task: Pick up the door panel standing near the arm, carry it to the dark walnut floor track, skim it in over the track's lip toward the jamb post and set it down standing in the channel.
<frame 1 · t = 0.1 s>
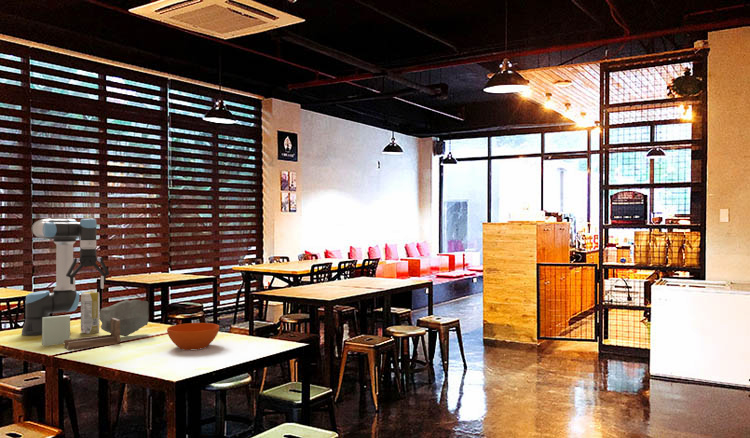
hand: (88, 289, 300), 28 cm above the table, fingers open, 13 cm apart
bowl: (193, 347, 293), on the table
rock: (124, 336, 319), on the table
juice carton: (90, 332, 330), on the table
track: (92, 345, 297), on the table
door panel: (56, 343, 300), on the table
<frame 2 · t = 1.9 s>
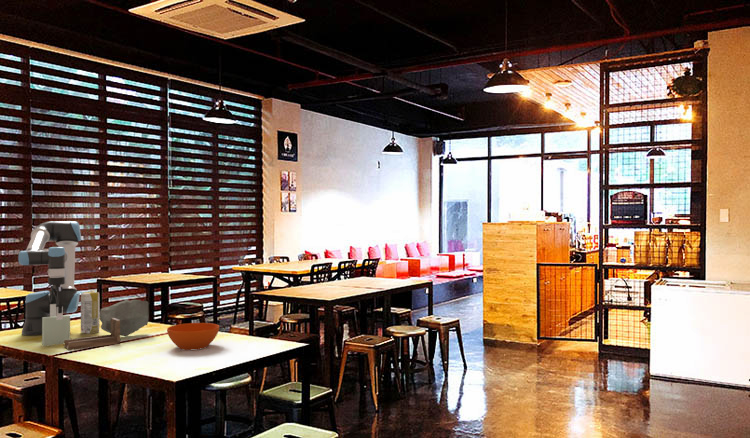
hand: (56, 318, 300), 13 cm above the table, fingers open, 13 cm apart
nothing on the table moved.
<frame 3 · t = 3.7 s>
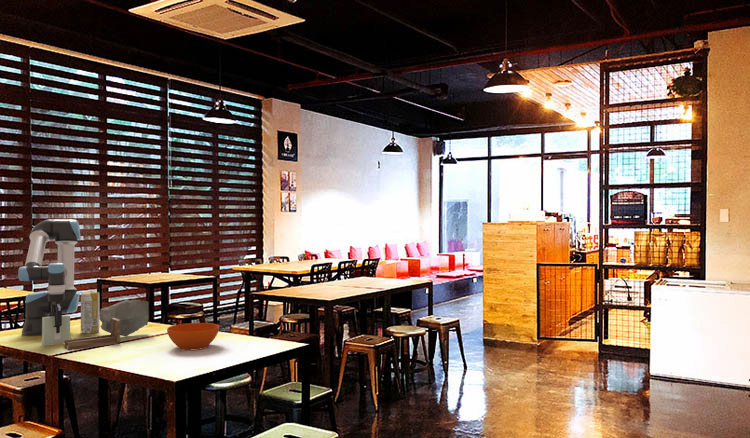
hand: (56, 338, 300), 3 cm above the table, fingers closed on door panel, 4 cm apart
door panel: (56, 343, 300), on the table, touching gripper
everything else where it was.
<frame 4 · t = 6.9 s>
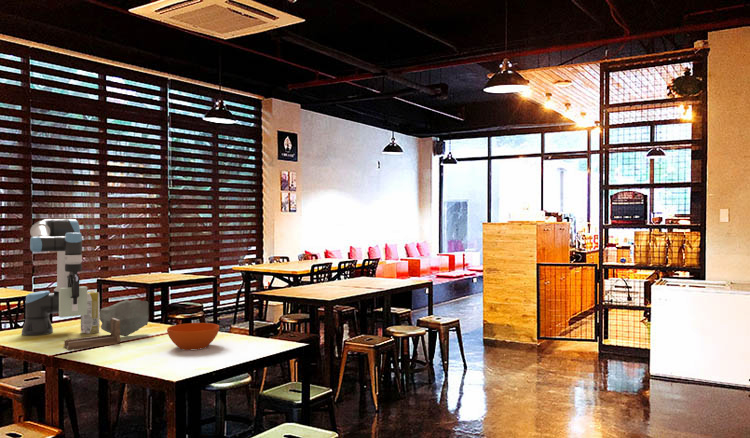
hand: (73, 310, 291), 19 cm above the table, fingers closed on door panel, 4 cm apart
door panel: (73, 315, 291), point 16 cm above the table, touching gripper
everything else where it was.
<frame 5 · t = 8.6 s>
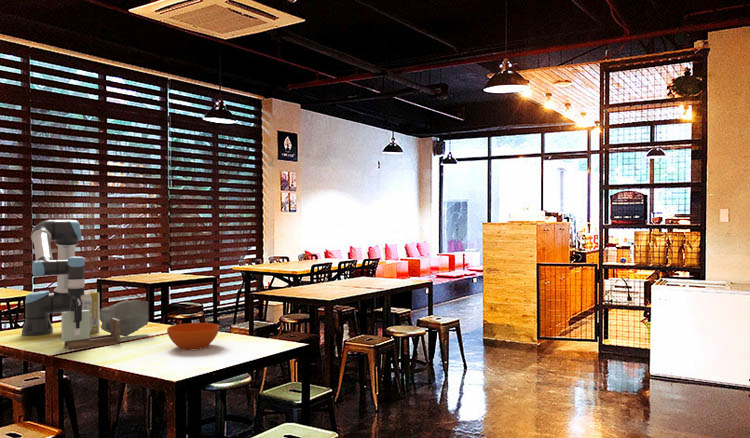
hand: (75, 334, 292), 7 cm above the table, fingers closed on door panel, 4 cm apart
door panel: (75, 339, 292), point 4 cm above the table, touching gripper
everything else where it was.
when the fingers open (5 cm above the table, at t = 10.2 s): door panel stays where it is, resting on track.
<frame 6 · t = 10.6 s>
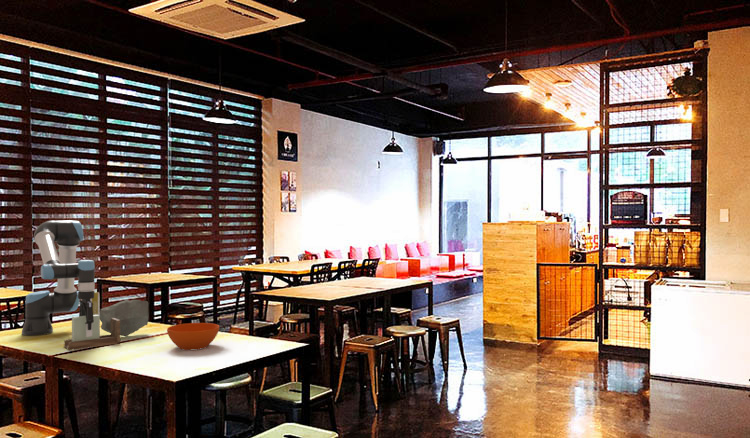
hand: (86, 334, 295), 6 cm above the table, fingers open, 9 cm apart
door panel: (85, 343, 295), point 1 cm above the table, touching track
everything else where it was.
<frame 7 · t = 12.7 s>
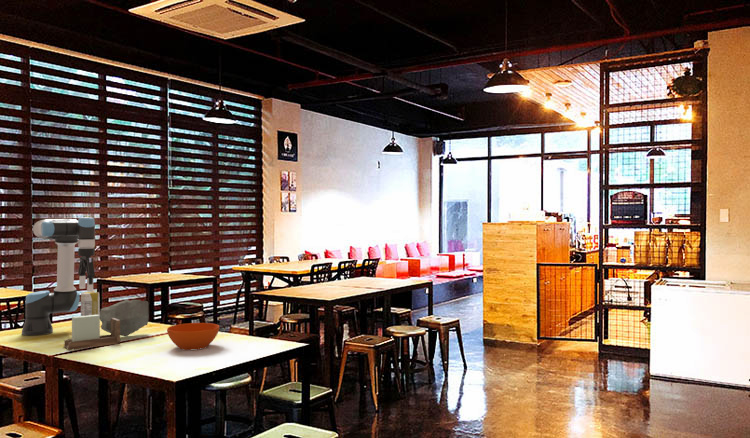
hand: (86, 289, 295), 28 cm above the table, fingers open, 13 cm apart
nothing on the table moved.
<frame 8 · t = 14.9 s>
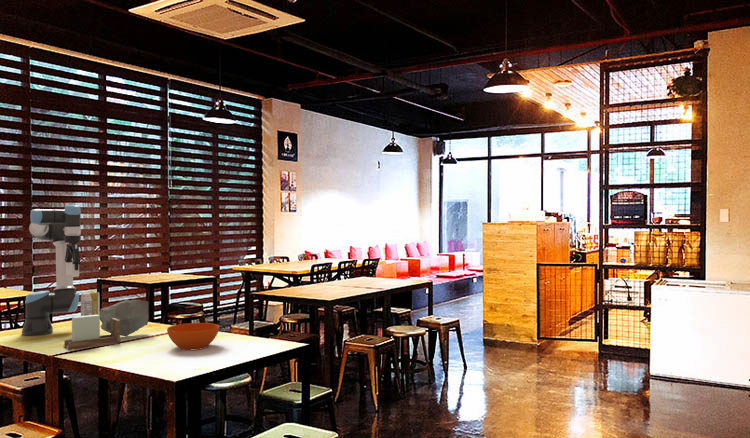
hand: (72, 275, 303), 35 cm above the table, fingers open, 13 cm apart
nothing on the table moved.
at the end: door panel inside the target area on the track (3.4 cm from its centre), point 1.0 cm above the track's base; door panel tilted 0°; the gripper is holding nothing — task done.
